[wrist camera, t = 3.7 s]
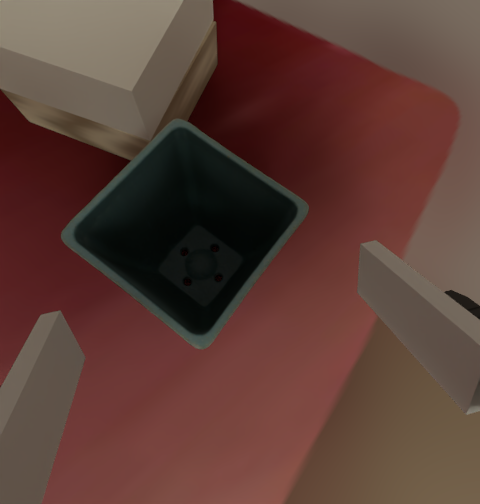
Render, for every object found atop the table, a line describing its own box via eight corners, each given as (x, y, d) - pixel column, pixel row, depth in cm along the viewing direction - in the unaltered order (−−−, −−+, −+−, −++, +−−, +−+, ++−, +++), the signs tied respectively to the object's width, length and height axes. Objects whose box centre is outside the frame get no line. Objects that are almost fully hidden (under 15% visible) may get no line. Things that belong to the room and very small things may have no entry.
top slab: (-5, 87, 23) (-60, 26, 18) (76, -25, 26) (46, -98, 22) (150, 140, 22) (131, 91, 18) (213, 19, 25) (210, -48, 21)
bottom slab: (32, 125, 27) (-4, 84, 23) (101, 27, 30) (80, -26, 26) (161, 175, 26) (149, 142, 22) (217, 68, 29) (216, 21, 25)
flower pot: (193, 189, 25) (176, 111, 17) (282, 254, 24) (314, 205, 16) (117, 275, 23) (53, 235, 15) (211, 350, 22) (203, 355, 13)
